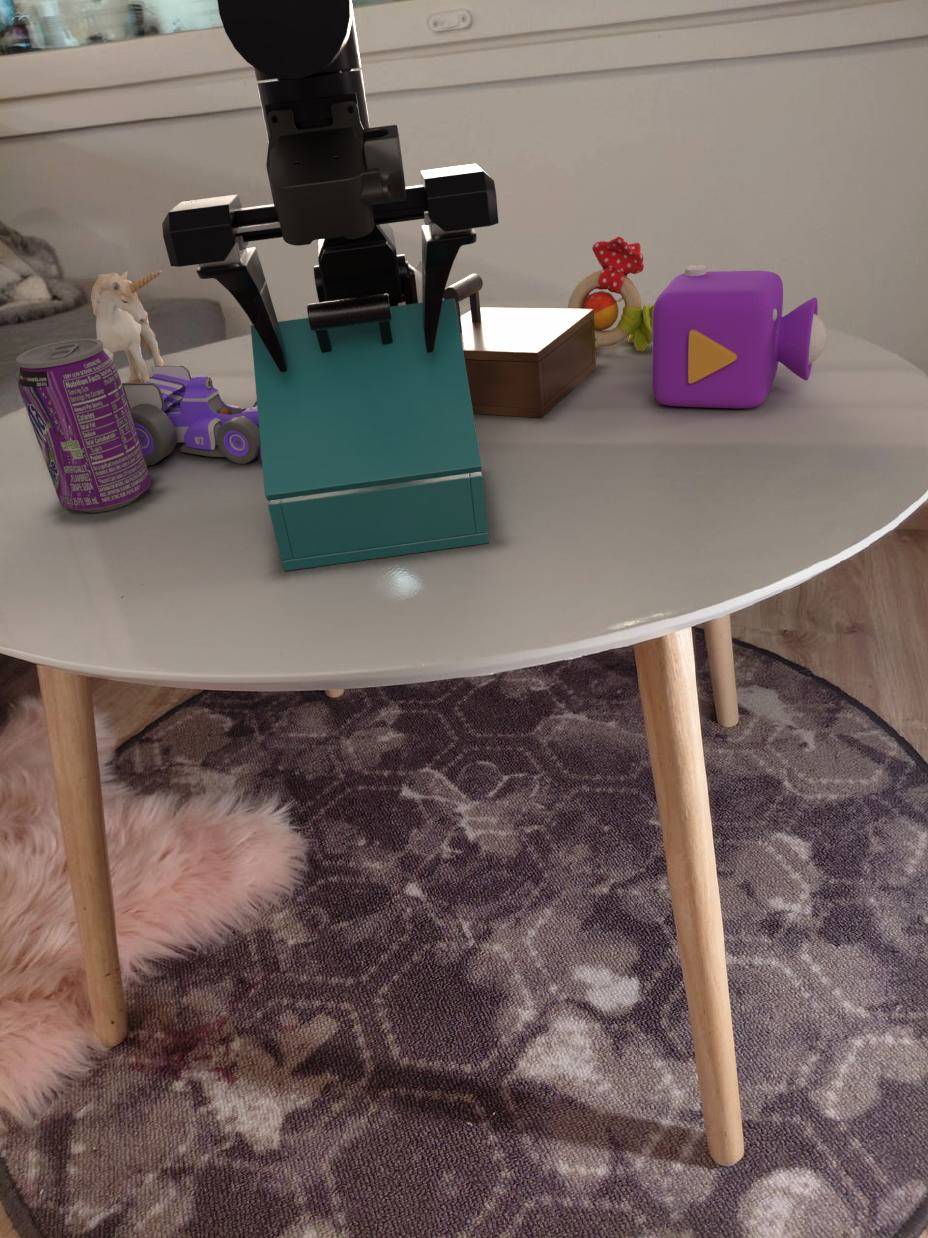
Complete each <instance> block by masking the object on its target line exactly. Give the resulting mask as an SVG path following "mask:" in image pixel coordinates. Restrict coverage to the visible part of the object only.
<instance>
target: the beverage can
mask: <svg viewBox="0 0 928 1238" xmlns="http://www.w3.org/2000/svg"><path fill="white" fill-rule="evenodd" d="M103 348H104V346H103V343H102V341H100V340H97V338H77V339H76V338H75V339H69V340H68V339H67V340H62V341H57V342H52V343H47V344H43V345H39V346H37V347H34V348H31V349H29V350H26V351H24V352H22V353H21V354H18V355H17V356H16V358H15V363H16V364H17V366H18V367H19V372H18V373H19V374H18V379H17V380H18V381H17V387H18V390H19V393H20V395H21V399H22V401H23V404H24V407H25V409H26V412H27V415H28V418H29V420H30V423H31V427H32V429H33V432H34V434H35V438H36V440H37V443H38V446H39V448H40V451H41V455H42V456H43V459H44V463H45V465H46V468H47V470H48V471H47V472H48V473H49V476H50V480H51V481H52V485H53V488H54V490H55V493H56V495H57V499H58V501H59V504H60V505H61V506H62V507H63V508H66V509H67V510H68V509H69V510H74V511H80V512H83V513H89V514H91V513H92V514H96V513H105V512H108V511H113V510H116V509H119V508H123V507H125V506H127V505H129V504H131V503H132V502H134V501H135V500H137V499H138V498H139V497H140V495H142V494H143V493H144V492H145V491H147V490H148V489H149V488H150V486H151V485H152V479H151V475H150V472H149V469H148V466H147V465H146V462H145V459H144V456H143V452H142V449H141V446H140V442H139V439H138V436H137V433H136V429H135V426H134V423H133V419H132V416H131V413H130V410H129V406H128V403H127V400H126V397H125V393H124V390H123V387H122V383H123V382H122V380H121V377H120V374H119V371H118V368H117V365H116V363H115V362H114V360H113V361H112V360H111V358H110V357H109V356H108V355H107V354H106V353H105V352H104V350H103Z"/></svg>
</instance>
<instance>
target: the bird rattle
mask: <svg viewBox="0 0 928 1238" xmlns="http://www.w3.org/2000/svg"><path fill="white" fill-rule="evenodd" d="M591 248H592V252H593V254H594V255H595V258H596V260H597V261H598V263H599V265H600V267H601V268H602V269H601V270H596V271H593V272H591V273H589V274H587V275H586V276H584V277H583V278H582V279H581V280H580V281H578V283H577V284H576V285H575V286H574V288H573V289H572V292H571V293H570V295H569V299H568V304H567V309H594V325H595V351H597V350H598V349H599V348H601V347H603V348H604V347H610V346H613V345H617V344H619V343H620V342H623V341H624V340H625V339H627V340H626V343H627V344H631V343H632V342H633V344H634V345H633V346H634V349H635V350H636V351H637V352H641V353H644V351H646V350H647V347H648V345H649V344H652V326H653V309H654V305H655V302H654V303H652V304H649V305H647V304H644V305H643V307H642V299H641V295H640V293H639V290H638V289H637V286H636V285H635V284H634V282H633V281H632V280H631V279H630V278H629V277H628V275H630V274H632V275H637V274H639V273H642V272H643V271H644V267H645V265H644V255H643V253H641V249H642V247H641V244H640V243H639V242H634V243H633V242H632V243H628V241H627V240H626V239H624V238H623V237H621V236H617V237H614V238H613V239H611V240H609V241H604V240H602V241H601V240H600V241H596V242H595V243H594V244H593V245H592V247H591ZM594 290H598V291H594ZM606 290H608V291H606ZM593 291H594V292H593ZM612 293H615V294H619V295H620V296H621V298H618V299H617V300H616V298H615V296H613V295H612ZM622 301H623V303H624V307H622V313H621V314H620V320H619V321H618V323H617V324H616V326H615V327H613V325H614V324H615V322H616V321H617V319H618V316H619V306H618V305H619V304H618V302H622ZM612 327H613V328H612ZM610 328H612V329H610Z"/></svg>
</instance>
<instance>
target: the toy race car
mask: <svg viewBox="0 0 928 1238" xmlns="http://www.w3.org/2000/svg"><path fill="white" fill-rule="evenodd" d="M151 370H152V375H150V376H149V380H147V381H145V382H144V381H142V383H130V382H121V383H122V387H123V390H124V393H125V397H126V400H127V403H128V406H129V410H130V413H131V416H132V419H133V423H134V426H135V429H136V433H137V436H138V439H139V442H140V446H141V449H142V452H143V456H144V459H145V462H146V465H147V467H148V466H149V467H150V466H153V465H156V464H157V463H159V462H161V460H163V459H165V458H166V457H168V456H169V455H170V454H171V453H173V452H174V450H175V448H176V446H177V443H183V445H182V446H181V447H180V452H182V453H184V454H185V453H186V454H192V455H198V456H204V457H210V458H211V457H212V458H213V457H214V458H225V459H228V460H229V461H230V462H233V463H235V464H238V465H245V464H249V463H250V462H252V461H253V460H254V459H256V458H257V457H258V456H259V455H260V461H262V455H261V443H260V431H259V419H258V407H257V400H256V401H255V402H254V403H253V405H252V407H249V408H244V407H243V408H242V407H239V406H237V405H236V406H235V405H231V404H227V403H225V402H224V401H223V400H222V397H221V396H220V393H219V390H218V389H217V388H215V387H214V385H213V380H212V378H211V377H210V376H191V373H190V370H189V369H188V368H187V367H185V366H184V365H164V366H155V365H152V366H151Z"/></svg>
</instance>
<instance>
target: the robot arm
mask: <svg viewBox="0 0 928 1238" xmlns="http://www.w3.org/2000/svg"><path fill="white" fill-rule="evenodd" d="M216 1H217V7H218V14H219V17H220V20H221V24H222V26H223V29H224V32H225V34H226V36H227V37H228V39H229V41H230V43H231V44H232V46H233V48H234V50H235V51H236V52H237V54H239V56H241V57H242V59H244V61H245V62H246V63H248V64H249V65H251V67H253V70H254V74H255V79H256V82H257V83H256V85H257V91H258V95H259V96H258V97H259V101H260V105H261V111H262V117H263V122H264V126H265V132H266V137H267V142H268V143H267V154H266V165H265V167H266V172H267V176H268V182H269V188H270V191H271V198H272V201H273V202H272V203H271V204H270V203H269V204H264V205H255V206H249V207H243V205H242V202H241V199H240V197H239V194H229V195H223V196H215V197H206V198H200V199H192V200H191V199H190V200H185V201H183V200H182V201H181V202H179V203H178V204H177V205H176V206H174V207H172V209H171V210H169V211H168V212H167V213H166V215H165V218H164V220H163V221H162V223H161V227H162V238H163V241H164V245H165V249H166V253H167V257H168V261H169V265H170V267H175V268H176V267H177V268H178V267H179V268H180V267H187V266H196V265H198V266H197V268H196V270H195V272H196V274H197V276H198V278H199V279H201V280H209V279H214V280H216V281H217V282H219V284H220V285H221V286H222V287H224V288H225V289H226V290H227V291H228V292H229V293H230V294H231V296H232V297H233V298H234V299H235V301H236V302H237V304H238V305H239V306H240V307H241V309H242V310H243V311H244V313H245V314H246V316H247V318H248V319H249V320H250V322H251V324H252V325H253V326H254V327H255V329H256V331H257V333H258V334H259V336H260V338H261V339H262V341H263V343H264V345H265V346H266V348H267V350H268V351H269V353H270V355H271V357H272V358H273V360H274V362H275V363H276V365H277V367H278V369H279V370H280V372H281V373H283V372H287V370H288V364H287V358H286V352H285V346H284V341H283V338H282V334H281V331H280V327H279V324H278V322H279V321H278V317H277V315H276V314H277V313H276V310H275V307H274V304H273V300H272V297H271V293H270V290H269V286H268V284H267V280H266V277H265V272H264V269H263V266H262V263H261V259H260V256H259V253H258V250H257V249H258V248H257V247H256V246H254V247H248V245H249V243H251V242H256V241H257V242H258V241H265V240H272V239H279V238H282V239H283V241H284V242H285V243H286V244H287V245H290V246H295V247H296V246H297V247H298V246H299V247H300V246H307V245H311V244H312V243H313V242H314V241H317V240H318V241H317V243H318V246H317V248H318V249H317V251H318V252H317V261H318V265H314V266H313V277H314V284H315V290H316V295H317V298H318V303H321V302H329V301H336V300H344V299H351V298H359V297H366V296H374V295H381V294H388V298H389V304H390V307H393V306H398V303H402V302H405V304H406V305H408V304H416V303H418V297H417V288H416V279H415V271H414V269H412V268H411V267H410V266H409V265H410V264H409V262H408V261H407V260H406V256H405V253H404V254H397V253H398V252H397V246H396V239H395V233H394V230H393V228H392V227H391V226H390V224H395V223H402V222H409V221H410V222H411V221H418V220H423V223H424V224H422V225H421V261H422V300H423V329H424V337H425V344H426V350H427V353H432V352H433V350H434V345H435V340H436V334H437V329H438V323H439V318H440V312H441V307H442V301H443V300H444V298H443V296H444V291H445V289H446V288H447V283H448V280H449V277H450V274H451V271H452V268H453V265H454V262H455V259H456V257H457V255H458V253H459V251H460V248H461V247H463V246H469V245H472V244H476V242H477V232H476V230H475V229H478V228H485V227H491V226H495V225H498V224H499V223H500V222H499V212H498V211H499V210H498V199H497V190H496V184H495V180H494V178H492V177H491V176H490V175H489V174H488V173H487V172H486V171H485V170H484V169H482V167H480V166H479V165H478V164H477V163H469V164H462V165H453V166H447V167H439V168H438V167H437V168H431V169H423V170H420V183H421V184H417V185H409V186H406V181H405V171H404V165H403V155H402V149H401V141H400V133H399V129H398V125H397V124H391V125H384V126H383V125H382V126H373V127H370V120H369V112H368V105H367V98H366V91H365V85H364V78H363V71H362V69H361V68H362V63H361V57H360V56H361V55H360V49H359V43H358V35H357V29H356V28H357V27H356V21H355V15H354V8H353V2H352V1H353V0H216ZM408 264H409V265H408Z"/></svg>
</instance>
